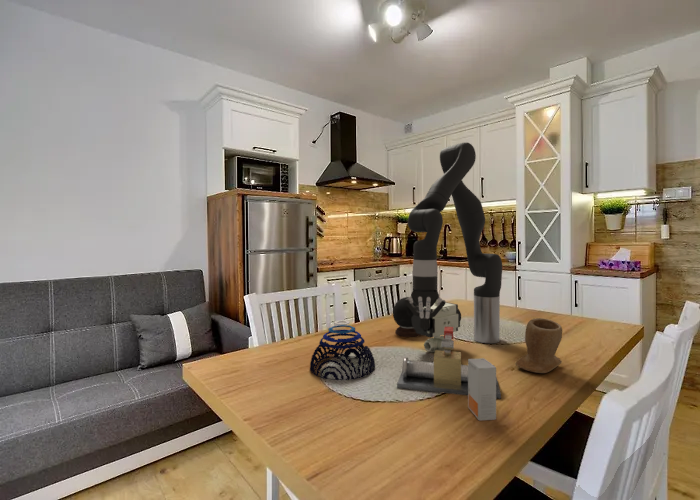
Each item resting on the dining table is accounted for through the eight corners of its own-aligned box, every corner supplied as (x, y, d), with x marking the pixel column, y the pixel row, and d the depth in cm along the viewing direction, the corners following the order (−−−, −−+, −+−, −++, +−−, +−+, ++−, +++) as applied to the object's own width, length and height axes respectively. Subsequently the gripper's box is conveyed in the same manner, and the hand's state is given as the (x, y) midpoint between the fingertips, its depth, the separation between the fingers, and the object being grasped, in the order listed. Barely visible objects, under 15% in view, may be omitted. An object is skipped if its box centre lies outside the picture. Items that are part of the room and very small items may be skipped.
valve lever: (443, 334, 114) (443, 326, 114) (454, 334, 113) (454, 327, 113) (441, 350, 99) (441, 341, 99) (453, 351, 98) (453, 342, 98)
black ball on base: (429, 331, 153) (429, 296, 152) (417, 339, 142) (417, 301, 141) (400, 327, 160) (400, 293, 159) (387, 334, 149) (387, 298, 148)
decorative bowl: (381, 360, 120) (381, 316, 120) (364, 384, 101) (363, 333, 101) (325, 354, 127) (325, 313, 126) (299, 376, 108) (298, 328, 107)
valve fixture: (403, 371, 110) (403, 339, 109) (496, 380, 102) (496, 346, 102) (397, 387, 98) (396, 352, 98) (500, 399, 91) (501, 360, 90)
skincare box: (467, 408, 86) (467, 358, 86) (484, 407, 87) (484, 357, 86) (478, 421, 80) (478, 368, 80) (497, 420, 81) (497, 367, 80)
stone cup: (551, 380, 101) (551, 327, 101) (509, 368, 111) (510, 319, 110) (573, 367, 111) (574, 318, 110) (533, 357, 120) (533, 312, 119)
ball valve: (429, 359, 120) (428, 305, 119) (411, 352, 127) (410, 301, 126) (465, 349, 130) (465, 299, 129) (446, 343, 137) (446, 296, 136)
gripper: (447, 273, 114) (447, 328, 115) (405, 272, 118) (405, 325, 119) (446, 276, 107) (446, 334, 108) (401, 275, 111) (401, 331, 112)
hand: (424, 329), depth 113 cm, fingers closed
